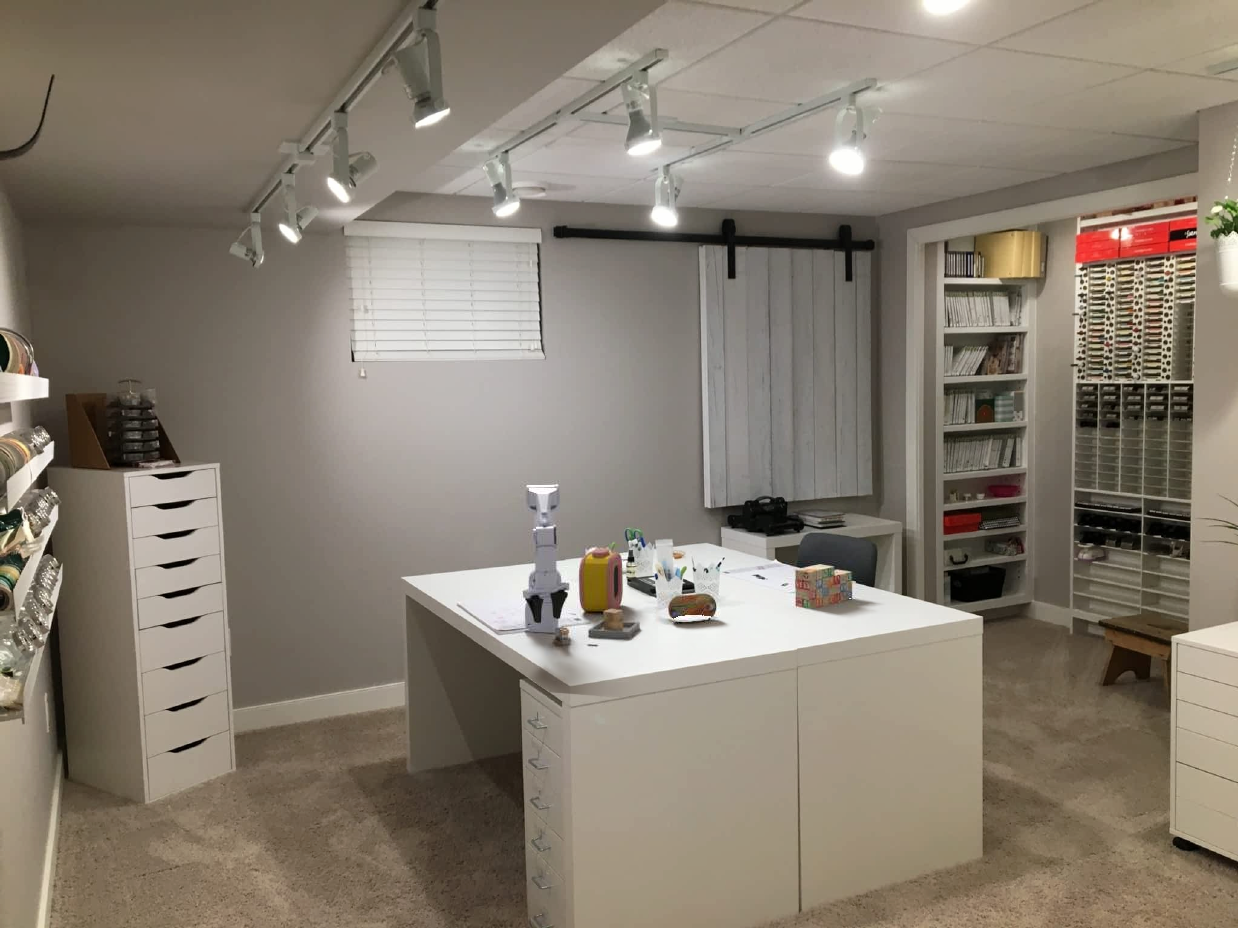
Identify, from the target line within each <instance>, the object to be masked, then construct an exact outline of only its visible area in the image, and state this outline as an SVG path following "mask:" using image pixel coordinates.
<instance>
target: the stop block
mask: <svg viewBox="0 0 1238 928" xmlns="http://www.w3.org/2000/svg"><path fill="white" fill-rule="evenodd" d="M623 611H624V610H622V609H618V608H617V609H609V610H606V611H603V620H604V630H612V631H623V621H624V620H623V619H624V617H623V616H624V614H623V613H624V612H623Z"/></svg>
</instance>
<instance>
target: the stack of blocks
mask: <svg viewBox="0 0 1238 928" xmlns="http://www.w3.org/2000/svg"><path fill="white" fill-rule="evenodd" d="M794 570H795V572H794V573H795V576H794V577H795V580H794V584H795V585H794V588H795V607H798V608H802V609H808V610H812V609H816V607H817V608H821V607H825V606H829V605H832V604H831V603H833V604H837V603H839V602H838V601H841V602H844V601H843V600H845V601H848V600H847V599H849V598H852V599H853V572H852V571H848V570H841V569H835V566H832V565H826V564H822V563H821V564H820V563H819V564H815V565H810V566H805V567H802V568H795V569H794ZM836 602H837V603H836ZM828 604H829V605H828ZM820 606H821V607H820Z"/></svg>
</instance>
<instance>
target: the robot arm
mask: <svg viewBox="0 0 1238 928" xmlns="http://www.w3.org/2000/svg"><path fill="white" fill-rule="evenodd" d="M560 490H561V489H560V485H559V484H557V483H555V484H541V485H540V484H536V485H528V484H527V485H526V486H525V496H526V497H525V498H526V499H525V501H526V503H525V504H526V509H527V511H528V512H530V513H533V514H534V516H533V527H534V528H533V529H532V543H533V544H532V545H533V550H534V551H533V552H534V560H535V561H534V565H535V566H534V569H533V570H531V572H529V575H528V589H524V590H522V597H523V598H524V599H525V601H526V603H525V608H524V625H525V626H524V627H525V628H527V629H529V630H526V631H525V632H528V633H529V632H530V633H531V632H532V633H545V634H546V633H549V634H555V628H560V627H564V625H562V624H559V620H560V619H561V616H562V615H561V614H562V610H563V608H564V604H565V602H566V600H567V598H568V596H569V593H568V592H567V591H570V583H569V582H564V581H563V582H562V575H561V572H560V571H559V570H557V569H558V568H557V547H558V541H559V540H558V539H559V538H558V528H557V525H556V519H555V515H554V513H555V512H558V511H559V508H560V505H561V494H560V493H561V491H560ZM529 625H530V626H529ZM559 625H561V626H559ZM525 628H524V629H525Z"/></svg>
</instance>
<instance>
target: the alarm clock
mask: <svg viewBox="0 0 1238 928" xmlns="http://www.w3.org/2000/svg"><path fill="white" fill-rule="evenodd" d="M580 560H581V561H580V564H579V569H578V589H579V591H578V594H579V595H578V596H579V597H578V598H579V603H580V607H581V609H582V611H584V612H585V613H588V612H603V611H606V610H609V609H617V610H618V608H619V607H620V605H621V604H622V600H623V592H624V588H623V585H624V581H623V560H622V556H621V554H620V553H619V552H617V551H614V552H610V549H609V548H608V547H607V548H606V547H598V548H595V549H593V550H592V551H590V552H588V553H587V554H586V555H584V556H583V557H582V558H581V559H580Z"/></svg>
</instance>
